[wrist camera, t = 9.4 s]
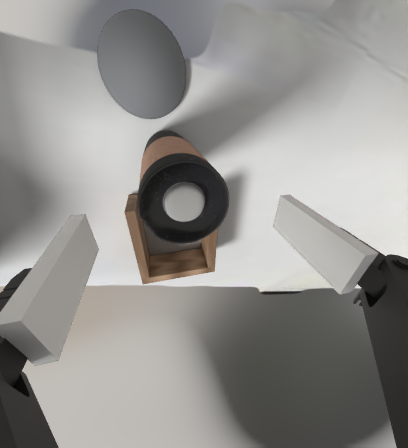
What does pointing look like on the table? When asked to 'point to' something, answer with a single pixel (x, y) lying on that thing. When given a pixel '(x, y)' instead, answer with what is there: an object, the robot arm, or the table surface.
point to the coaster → (141, 64)
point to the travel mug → (179, 190)
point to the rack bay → (169, 262)
